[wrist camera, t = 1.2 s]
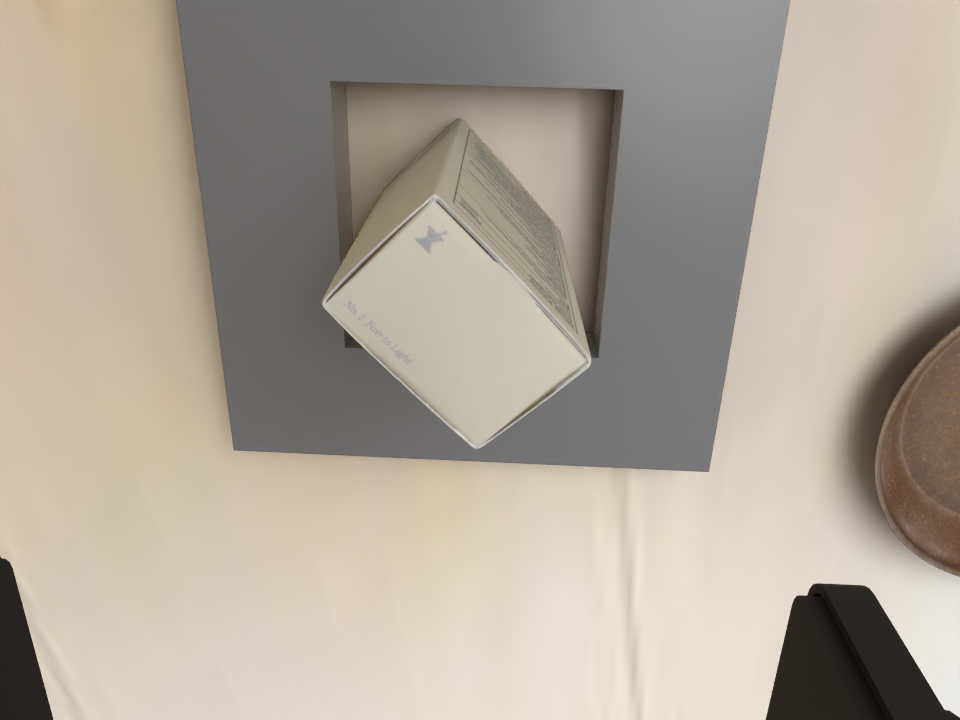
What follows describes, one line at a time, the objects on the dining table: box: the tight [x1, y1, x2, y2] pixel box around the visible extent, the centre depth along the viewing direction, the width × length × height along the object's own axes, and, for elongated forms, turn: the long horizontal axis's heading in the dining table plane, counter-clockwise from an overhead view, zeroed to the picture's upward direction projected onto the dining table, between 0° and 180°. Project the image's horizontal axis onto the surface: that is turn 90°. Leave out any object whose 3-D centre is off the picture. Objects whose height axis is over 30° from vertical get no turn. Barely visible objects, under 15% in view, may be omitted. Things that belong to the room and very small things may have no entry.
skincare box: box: [322, 119, 591, 449], centre depth 26 cm, size 6×4×12 cm
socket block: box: [176, 0, 790, 472], centre depth 30 cm, size 20×20×2 cm
